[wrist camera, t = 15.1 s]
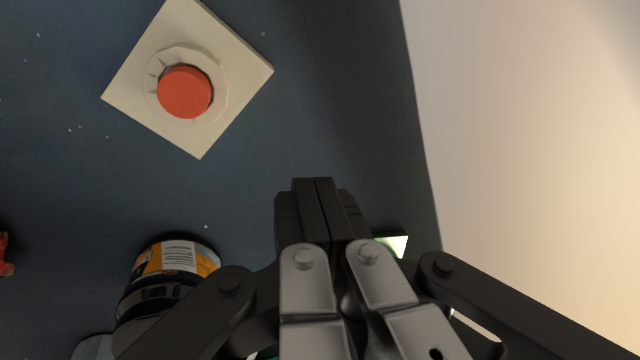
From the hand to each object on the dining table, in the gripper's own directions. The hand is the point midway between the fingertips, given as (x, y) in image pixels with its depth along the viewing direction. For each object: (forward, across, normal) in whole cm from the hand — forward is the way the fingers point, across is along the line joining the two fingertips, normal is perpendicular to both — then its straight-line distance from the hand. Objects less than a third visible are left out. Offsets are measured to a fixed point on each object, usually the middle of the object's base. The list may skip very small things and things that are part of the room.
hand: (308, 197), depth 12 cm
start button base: (+23, +8, +2) cm, 25 cm away
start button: (+20, +8, +2) cm, 21 cm away
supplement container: (+23, +12, +26) cm, 37 cm away
